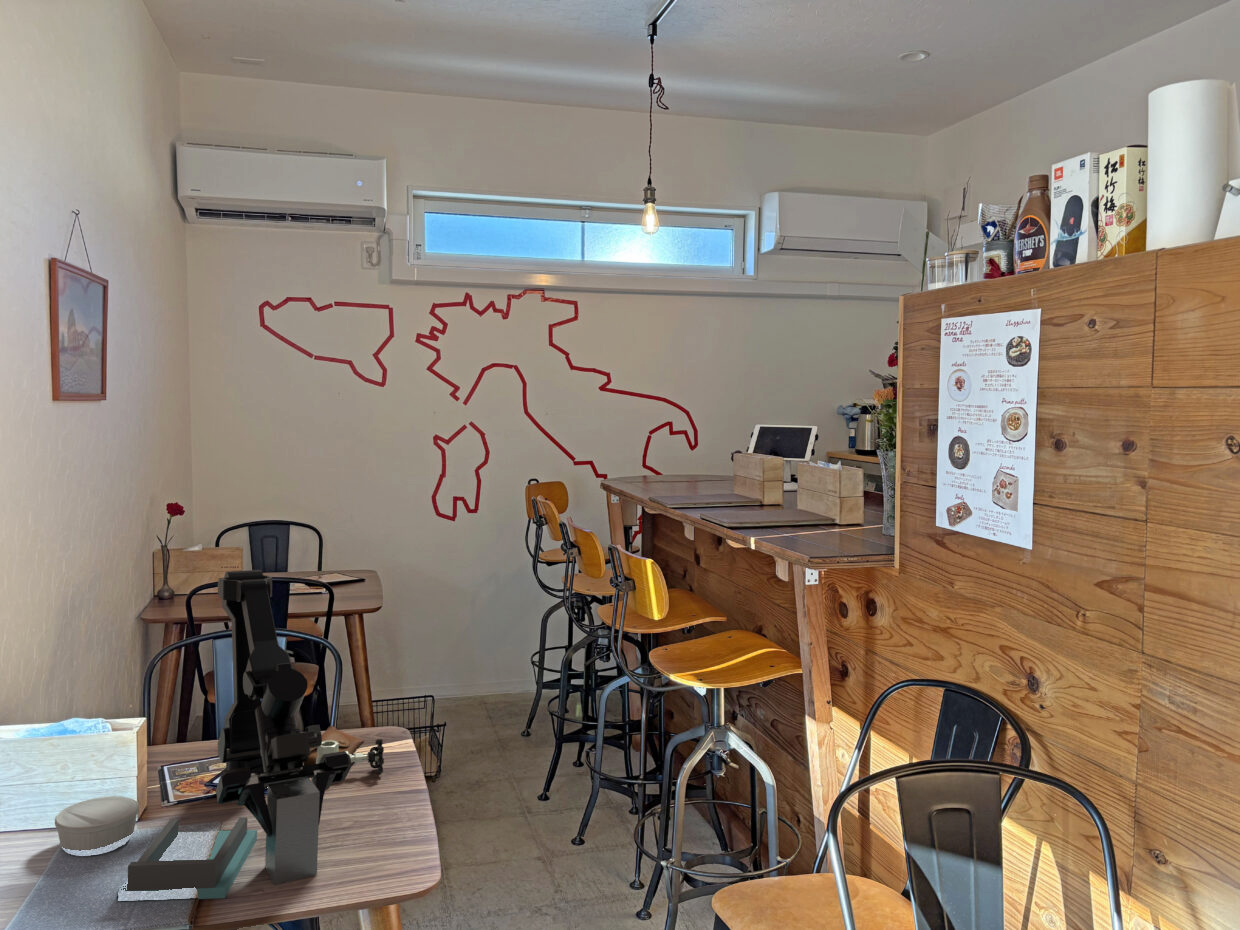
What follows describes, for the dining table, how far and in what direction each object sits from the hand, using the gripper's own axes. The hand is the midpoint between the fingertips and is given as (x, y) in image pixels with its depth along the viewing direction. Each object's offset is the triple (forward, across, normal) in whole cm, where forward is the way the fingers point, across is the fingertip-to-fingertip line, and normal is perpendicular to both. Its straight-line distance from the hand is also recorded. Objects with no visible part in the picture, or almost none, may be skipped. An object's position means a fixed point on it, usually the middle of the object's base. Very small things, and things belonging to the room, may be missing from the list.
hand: (294, 831), depth 132 cm
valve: (-19, +18, +28) cm, 39 cm away
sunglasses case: (-26, +19, +37) cm, 49 cm away
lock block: (+4, 0, +6) cm, 7 cm away
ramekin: (-12, -24, +22) cm, 35 cm away
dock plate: (-2, -12, +11) cm, 17 cm away
